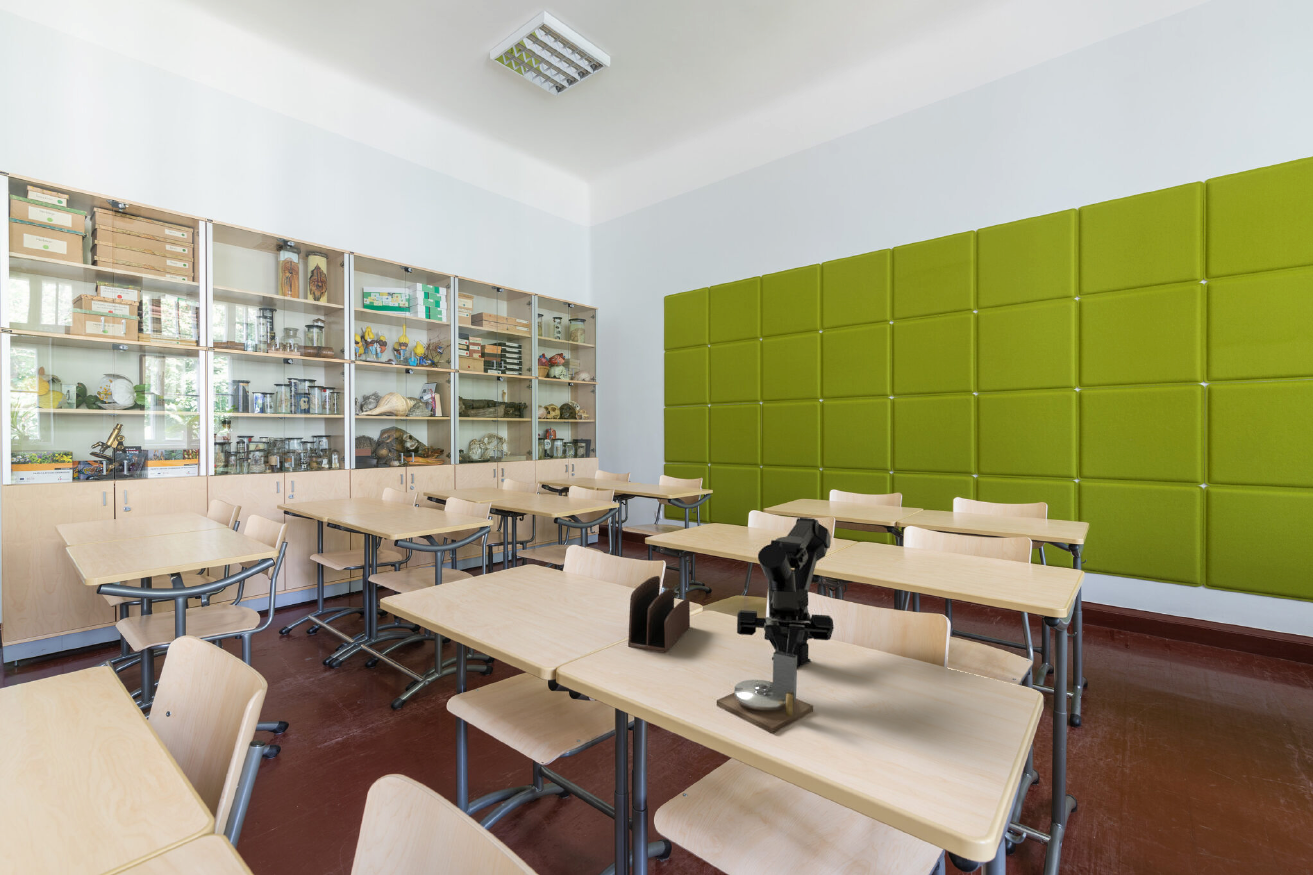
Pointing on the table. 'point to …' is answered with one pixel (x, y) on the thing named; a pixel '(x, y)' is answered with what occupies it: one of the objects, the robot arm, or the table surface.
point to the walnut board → (767, 712)
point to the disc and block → (770, 685)
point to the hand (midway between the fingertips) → (785, 667)
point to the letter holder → (656, 617)
